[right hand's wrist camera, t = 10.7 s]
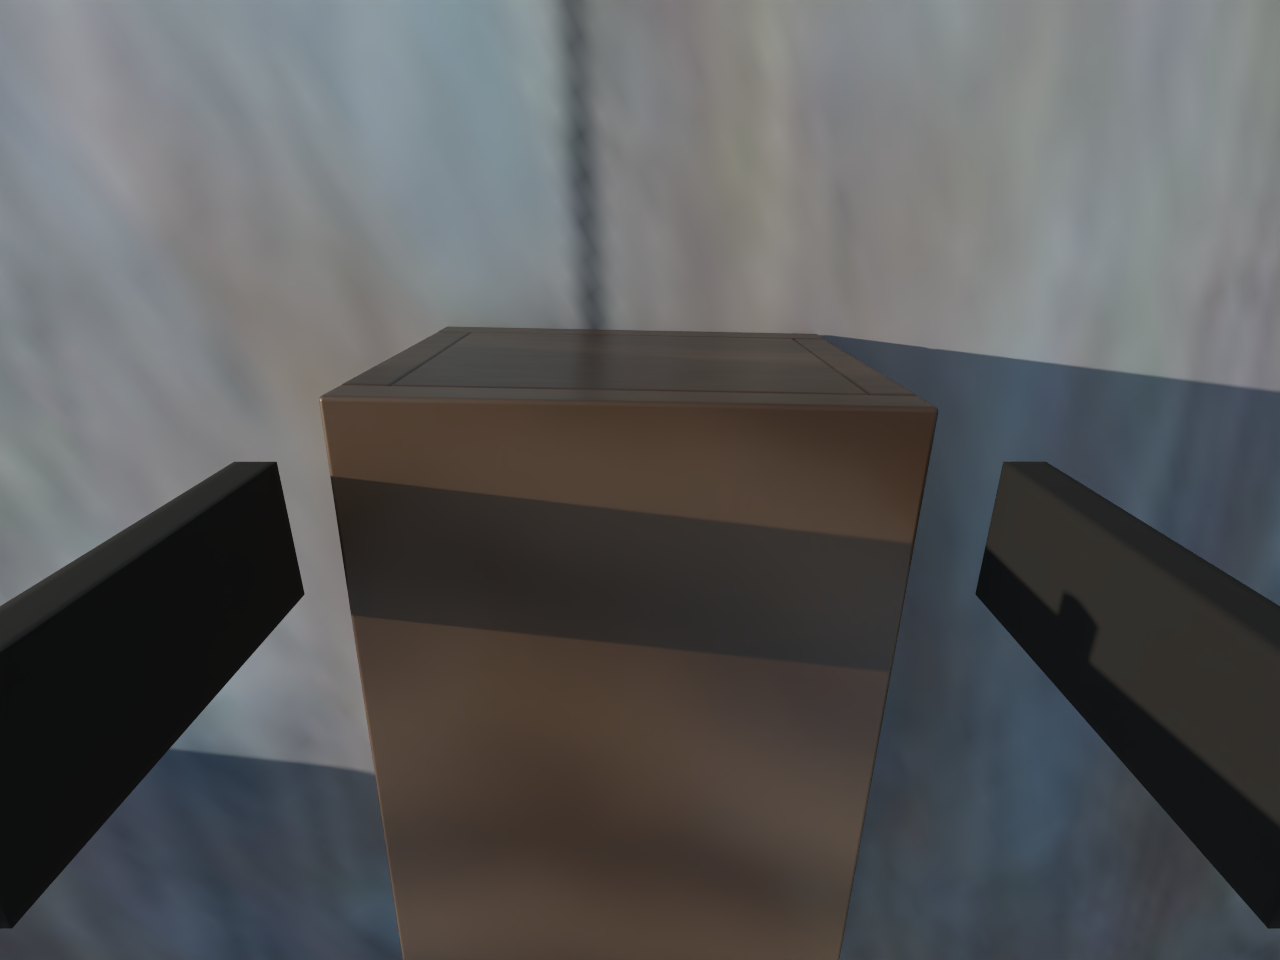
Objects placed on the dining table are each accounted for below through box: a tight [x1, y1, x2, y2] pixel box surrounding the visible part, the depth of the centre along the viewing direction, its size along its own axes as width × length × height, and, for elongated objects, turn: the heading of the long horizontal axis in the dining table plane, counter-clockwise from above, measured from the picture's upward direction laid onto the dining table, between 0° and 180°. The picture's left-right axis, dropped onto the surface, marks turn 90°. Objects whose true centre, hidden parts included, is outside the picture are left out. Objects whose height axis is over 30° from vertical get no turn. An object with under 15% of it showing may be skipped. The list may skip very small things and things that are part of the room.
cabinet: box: [319, 327, 938, 960], centre depth 19 cm, size 21×10×8 cm, turn 179°
